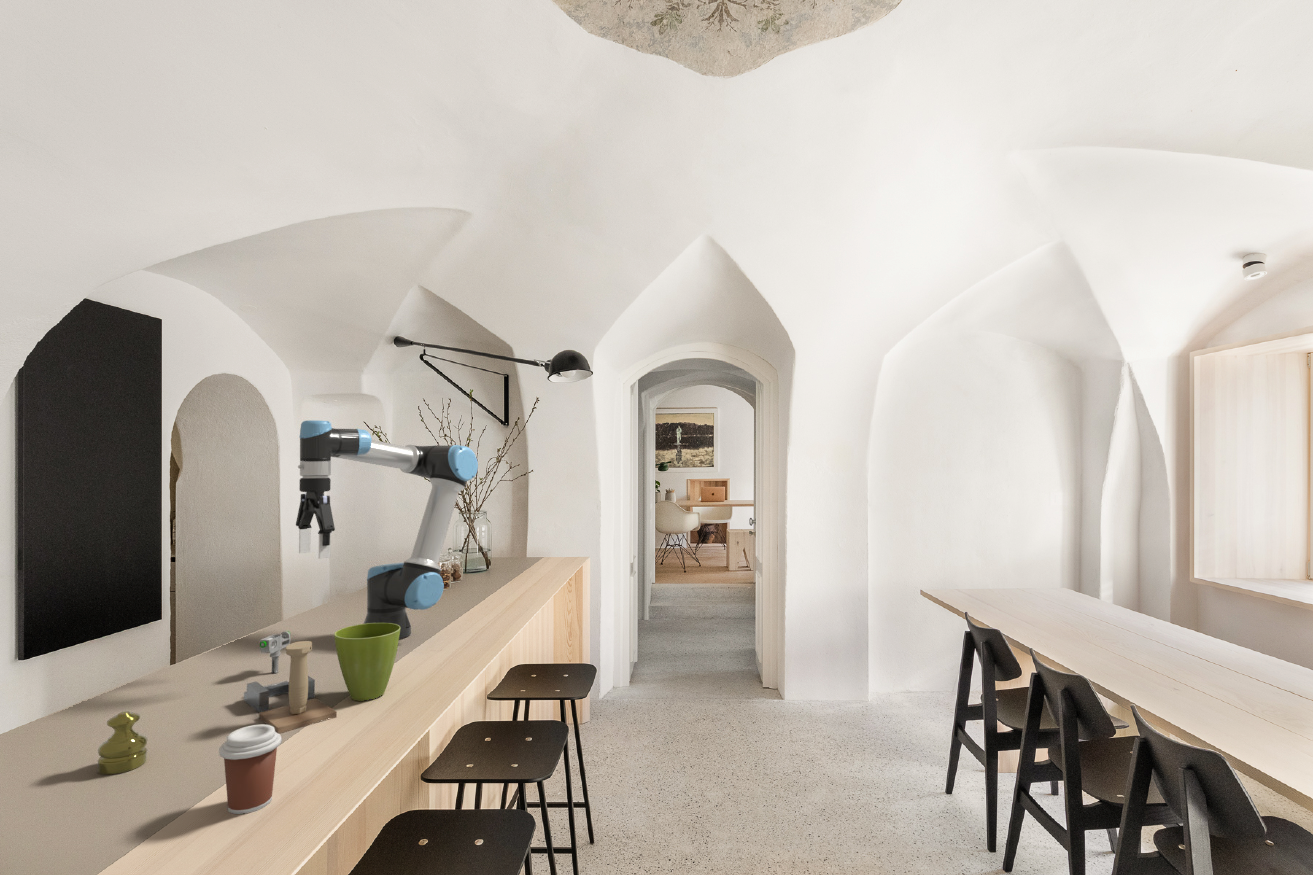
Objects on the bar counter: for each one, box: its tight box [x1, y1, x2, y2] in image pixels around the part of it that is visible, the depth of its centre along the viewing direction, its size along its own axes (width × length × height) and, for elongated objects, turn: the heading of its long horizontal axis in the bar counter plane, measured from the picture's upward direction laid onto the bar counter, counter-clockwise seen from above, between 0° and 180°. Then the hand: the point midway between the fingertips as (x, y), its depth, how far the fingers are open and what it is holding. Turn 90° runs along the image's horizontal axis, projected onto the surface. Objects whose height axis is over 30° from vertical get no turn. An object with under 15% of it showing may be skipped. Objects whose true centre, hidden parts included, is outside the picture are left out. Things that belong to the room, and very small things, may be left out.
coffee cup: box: [218, 723, 282, 815], centre depth 112 cm, size 9×9×12 cm
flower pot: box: [333, 623, 400, 702], centre depth 162 cm, size 15×15×16 cm
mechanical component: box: [259, 630, 291, 674], centre depth 179 cm, size 3×10×10 cm, turn 174°
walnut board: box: [258, 697, 338, 734], centre depth 148 cm, size 12×12×1 cm
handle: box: [285, 640, 313, 714], centre depth 149 cm, size 5×6×15 cm
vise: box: [243, 675, 316, 713], centre depth 160 cm, size 12×13×4 cm
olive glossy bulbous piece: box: [97, 710, 148, 775], centre depth 126 cm, size 7×7×10 cm
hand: (314, 555), depth 180 cm, fingers open, 13 cm apart
